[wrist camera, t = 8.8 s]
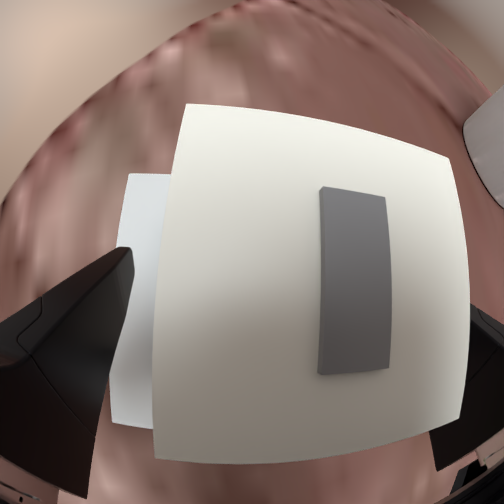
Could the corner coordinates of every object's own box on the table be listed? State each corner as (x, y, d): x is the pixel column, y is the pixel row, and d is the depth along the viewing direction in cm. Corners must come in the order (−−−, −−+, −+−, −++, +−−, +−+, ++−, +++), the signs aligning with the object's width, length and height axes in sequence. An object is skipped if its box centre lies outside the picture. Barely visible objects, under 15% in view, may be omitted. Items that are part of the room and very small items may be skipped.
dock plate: (352, 417, 17) (371, 429, 14) (117, 416, 15) (104, 430, 12) (354, 199, 20) (371, 184, 17) (133, 181, 18) (123, 162, 15)
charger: (285, 350, 16) (464, 420, 3) (199, 347, 15) (153, 463, 3) (289, 267, 17) (453, 155, 4) (204, 261, 16) (185, 97, 4)
